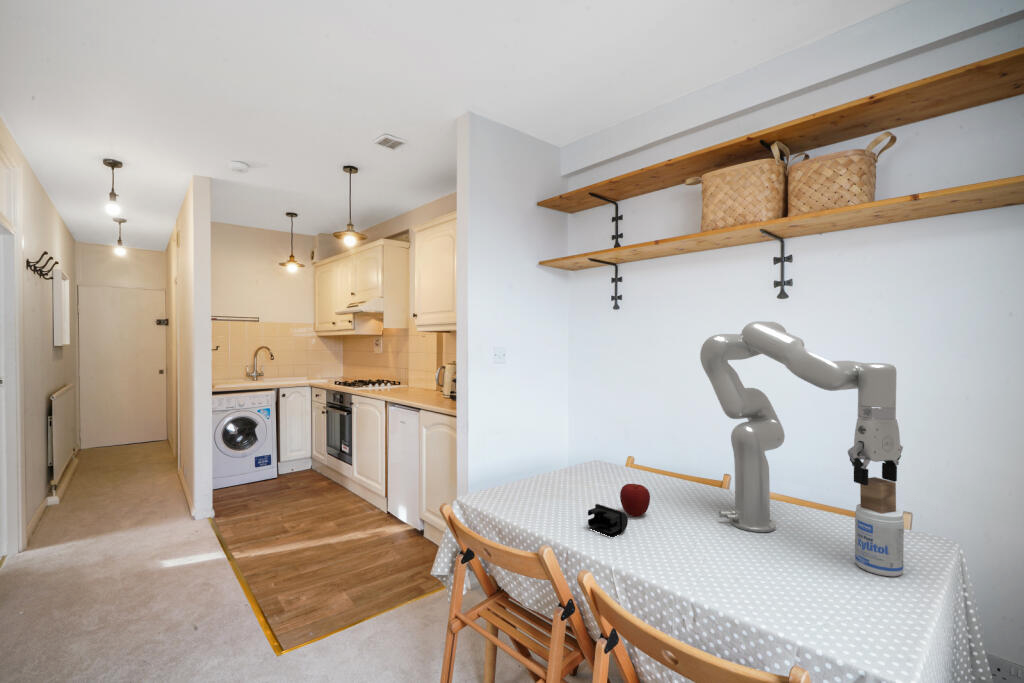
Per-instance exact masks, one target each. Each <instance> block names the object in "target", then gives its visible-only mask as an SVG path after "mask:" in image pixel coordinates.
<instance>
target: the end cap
mask: <svg viewBox="0 0 1024 683" xmlns="http://www.w3.org/2000/svg"><path fill="white" fill-rule="evenodd" d="M592 515H593V517H591V518H589V519H587V525H588V526H589V527H588V529H589V528H590V529H592V530H595V531H597V532H600V533H602V534H605V535H607V536H610V537H615V536H617V535H619V536H621V535H622V534H623V533H624V532H625V531H626V529H627V527H628V525H629V524H628V522H629V521H628V520H629V518H628V514H627V513H626V512H625V511H621V510H618V509H615V508H612V507H608V506H606V505H602V504H599V503H595V504H594V508H593V507H592V508H590V509H588V510H587V516H589V517H590V516H592ZM620 534H621V535H620ZM607 536H606V537H607ZM617 537H618V536H617ZM615 538H616V537H615Z"/></svg>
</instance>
